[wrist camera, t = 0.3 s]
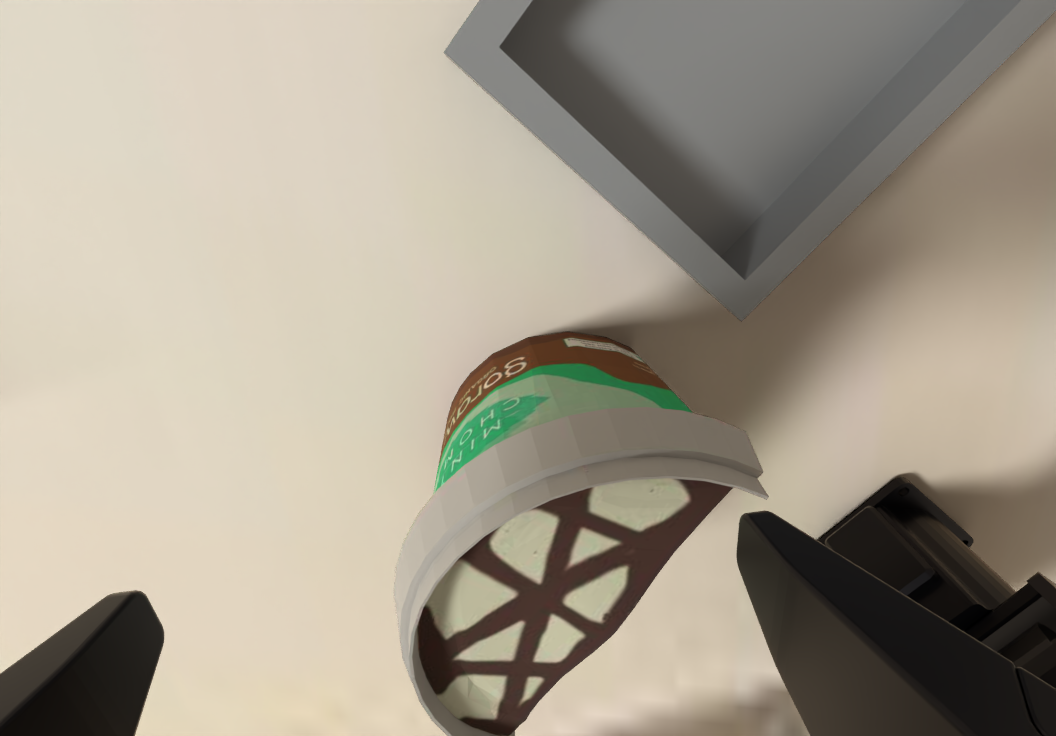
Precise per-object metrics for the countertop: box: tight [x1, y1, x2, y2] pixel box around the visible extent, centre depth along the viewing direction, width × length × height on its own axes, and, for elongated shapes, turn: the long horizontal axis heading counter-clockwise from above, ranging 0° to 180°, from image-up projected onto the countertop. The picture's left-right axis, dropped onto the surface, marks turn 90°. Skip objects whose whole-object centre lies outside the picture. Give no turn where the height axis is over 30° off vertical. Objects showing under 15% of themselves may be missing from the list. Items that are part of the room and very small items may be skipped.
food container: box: [394, 332, 769, 736], centre depth 19 cm, size 12×6×10 cm, turn 148°
